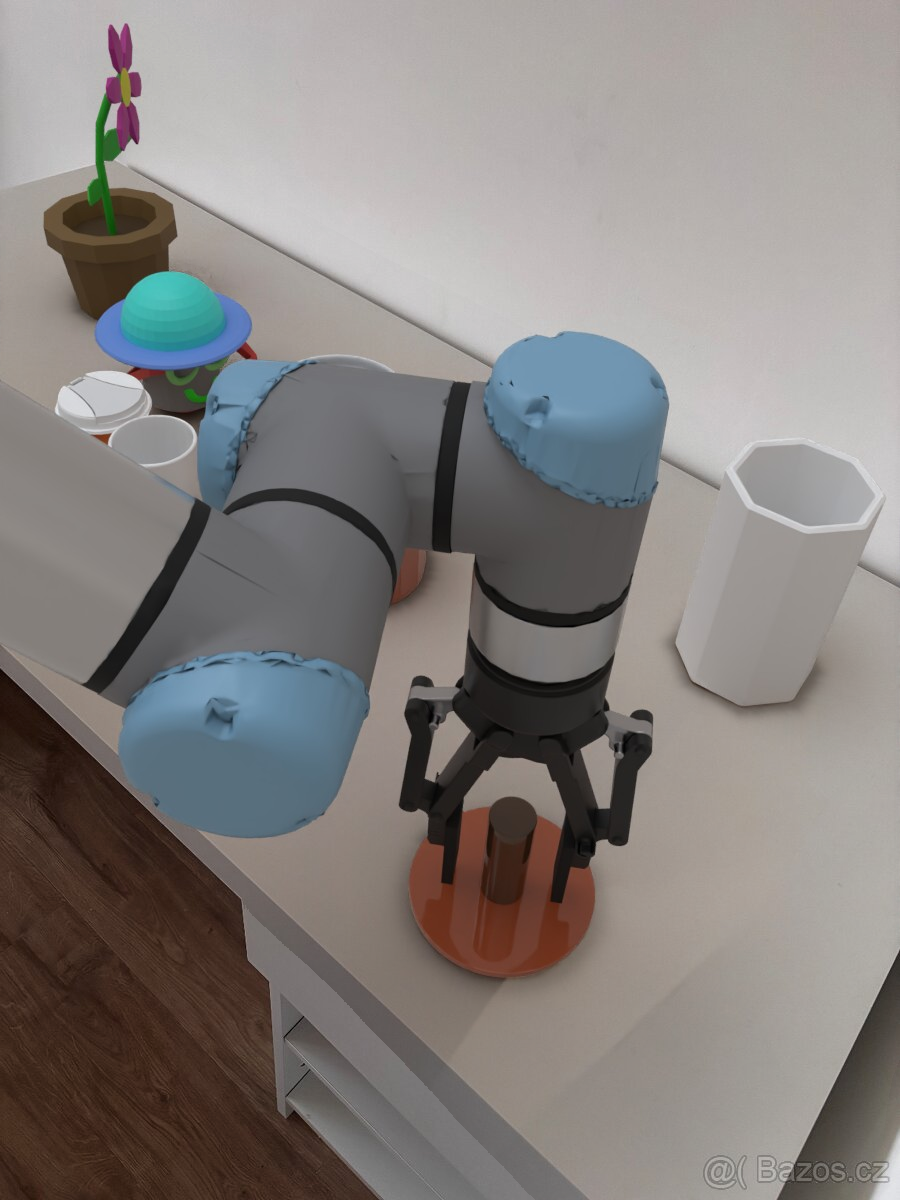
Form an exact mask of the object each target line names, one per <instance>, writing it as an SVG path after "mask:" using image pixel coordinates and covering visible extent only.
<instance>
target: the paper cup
mask: <svg viewBox="0 0 900 1200" xmlns="http://www.w3.org/2000/svg"><path fill="white" fill-rule="evenodd" d="M126 373H127V372H122V371H118V370H117V371H116V370H98V371H92V372H88V373H84V375H83V377H82V376H79V377H77V378H76V379H73V380H72V381H69V382H68V385H63V386H62V387H61V388H60V390H59V392H58V395H57V402H56V404H55V407H54V413H56V414H57V415H59V416H61V417H62V418H64V419H66V420H67V421H69V422H70V423H72V424H74V425H75V426H77V427H79V428H80V429H82V430H84V431H85V432H87V433H89V434H90V435H92V436H94V437H95V438H97V439H98V440H100V441H102V442H103V443H105V444H107V445H108V441H109V438H110V436H111V434H112V433H113V432H114V431H115V430H116V429H117V428H118V427H119V426H121V425H122V424H124V423H126V422H128V421H130V420H132V419H135V418H139V417H143V416H149V415H150V413H151V410H152V407H153V405H152V399H151V397H150V395H149V394H148V392H147V391H146V390H145V388H144V384H142V383H141V380H137V379H136V378H135V377H133V376H131V375H129V374H126Z"/></svg>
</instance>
